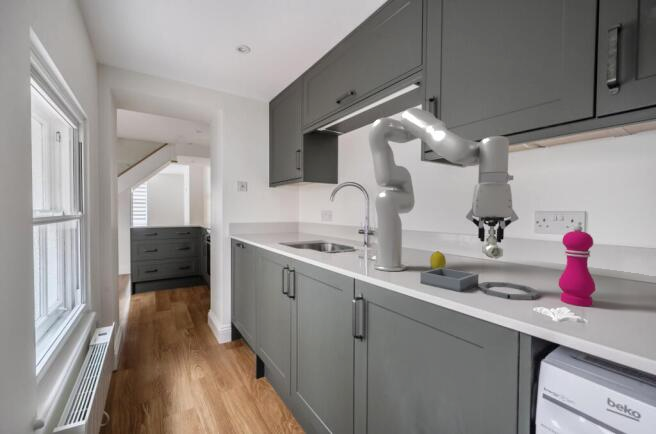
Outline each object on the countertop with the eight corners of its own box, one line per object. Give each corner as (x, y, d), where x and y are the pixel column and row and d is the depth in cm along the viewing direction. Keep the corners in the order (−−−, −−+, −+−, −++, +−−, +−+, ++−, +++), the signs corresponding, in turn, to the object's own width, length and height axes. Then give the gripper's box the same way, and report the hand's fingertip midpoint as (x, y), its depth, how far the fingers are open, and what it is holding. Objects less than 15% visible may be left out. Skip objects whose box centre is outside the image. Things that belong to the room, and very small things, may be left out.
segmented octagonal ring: (469, 290, 86) (469, 287, 86) (490, 282, 95) (490, 279, 95) (527, 303, 74) (527, 299, 74) (544, 292, 83) (544, 289, 83)
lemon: (443, 274, 107) (444, 252, 107) (428, 272, 110) (428, 251, 110) (446, 271, 112) (447, 250, 112) (432, 269, 115) (432, 249, 115)
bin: (420, 283, 94) (420, 272, 94) (440, 277, 102) (440, 267, 102) (459, 292, 84) (459, 280, 84) (478, 285, 92) (478, 274, 92)
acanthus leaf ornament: (533, 313, 69) (533, 305, 69) (562, 313, 69) (562, 305, 69) (557, 325, 62) (557, 316, 62) (590, 325, 62) (590, 316, 61)
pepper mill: (554, 301, 75) (555, 224, 75) (562, 296, 80) (564, 223, 79) (591, 309, 70) (593, 226, 69) (598, 303, 74) (600, 225, 74)
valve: (484, 259, 83) (483, 218, 83) (476, 256, 90) (476, 217, 90) (509, 259, 82) (509, 217, 82) (499, 256, 89) (499, 217, 89)
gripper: (521, 180, 86) (519, 241, 87) (460, 181, 92) (458, 238, 93) (529, 178, 79) (526, 244, 80) (462, 179, 85) (460, 241, 86)
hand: (490, 240), depth 87 cm, fingers closed on valve, 3 cm apart
